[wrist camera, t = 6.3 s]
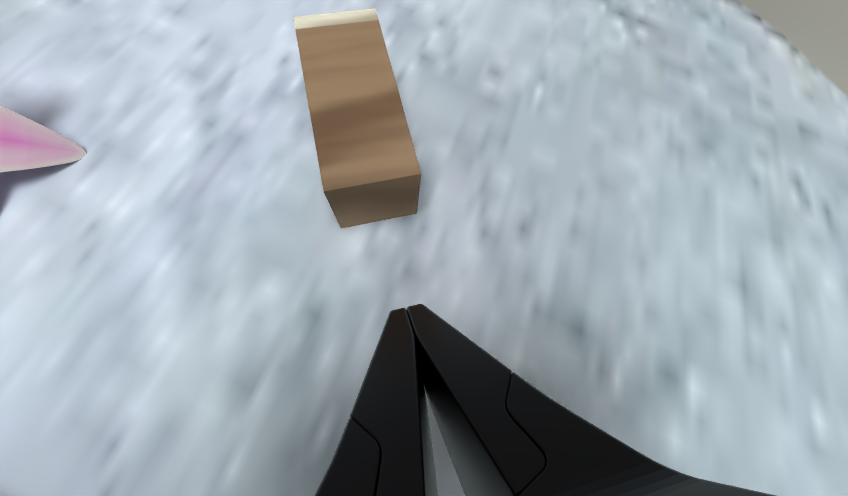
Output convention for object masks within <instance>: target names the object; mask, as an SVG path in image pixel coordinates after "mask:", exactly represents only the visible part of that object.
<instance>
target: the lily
mask: <svg viewBox="0 0 848 496" xmlns="http://www.w3.org/2000/svg"><path fill="white" fill-rule="evenodd" d="M86 154H87V153H86V152H85V150H84V149H83V148H82V147H80V146H79V145H77V144H76V143H74V142H73V141H71V140H69V139H68V138H66V137H64V136H62V135H60V134H58V133H56V132H55V131H53V130H51V129H49V128H47V127H45V126H43V125H41V124H39V123H37V122H34V121H32V120H30V119H28V118H26V117H24V116H22V115H20V114H18V113H16V112H14V111H11V110H9V109H7V108H5V107H3V106H0V172H8V171H16V170H25V169H33V168H40V167H48V166H54V165H59V164H65V163H70V162H74V161H77V160H81V159H82V158H83V157H84V156H85V155H86Z"/></svg>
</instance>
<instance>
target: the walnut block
mask: <svg viewBox="0 0 848 496" xmlns="http://www.w3.org/2000/svg"><path fill="white" fill-rule="evenodd" d="M293 18H294V24H295V30H296V36H297V41H298V47H299V53H300V58H301V64H302V70H303V76H304V81H305V87H306V93H307V99H308V104H309V110H310V116H311V122H312V127H313V133H314V139H315V144H316V150H317V156H318V162H319V167H320V173H321V179H322V185H323V190H324V193H325V195H326V197H327V200H328V202H329V204H330V206H331V208H332V210H333V212H334V215H335V217H336V219H337V221H338V223H339V225H340V227H341V228H346V227H351V226H356V225H361V224H366V223H371V222H376V221H381V220H386V219H391V218H396V217H401V216H406V215H411V214H416V213H417V205H418V196H419V188H420V179H421V171H420V168H419V164H418V161H417V157H416V153H415V150H414V146H413V143H412V139H411V135H410V132H409V128H408V125H407V121H406V117H405V114H404V110H403V107H402V103H401V99H400V96H399V92H398V89H397V85H396V81H395V78H394V74H393V71H392V67H391V63H390V60H389V56H388V53H387V49H386V45H385V42H384V38H383V35H382V31H381V27H380V24H379V20H378V17H377V13H376V9H375V8H374V9H365V10H355V11H346V12H336V13H327V14H318V15H308V16H299V17H293Z"/></svg>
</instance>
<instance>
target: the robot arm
mask: <svg viewBox="0 0 848 496" xmlns="http://www.w3.org/2000/svg"><path fill="white" fill-rule="evenodd" d="M424 388H425V389H424ZM425 391H426V394H427V397H428V400H429V403H430V405H431V408H432V410H433V413H434V416H435V418H436V421H437V423H438V426H439V428H440V431H441V434H442V436H443V439H444V441H445V444H446V446H447V449H448V452H449V454H450V457H451V459H452V462H453V464H454V467H455V470H456V472H457V475H458V477H459V480H460V483H461V485H462V488H463V490H464V493H465V495H466V496H775V495H771V494H766V493H762V492H757V491H753V490H748V489H743V488H739V487H734V486H730V485H725V484H721V483H716V482H712V481H707V480H703V479H698V478H695V477H692V476H689V475H686V474H683V473H680V472H678V471H675V470H673V469H670V468H668V467H666V466H664V465H662V464H659V463H657V462H655V461H653V460H652V459H650V458H648V457H646V456H644V455H643V454H641V453H639V452H638V451H636V450H634V449H633V448H631V447H629V446H628V445H626V444H624V443H623V442H621V441H619V440H618V439H616V438H614V437H613V436H611V435H609V434H608V433H606V432H604V431H603V430H601V429H599V428H598V427H596V426H594V425H593V424H591V423H589V422H588V421H586V420H584V419H583V418H581V417H579V416H578V415H576V414H574V413H573V412H571V411H569V410H568V409H566V408H565V407H563V406H561V405H560V404H558V403H557V402H555V401H554V400H552V399H550V398H549V397H547V396H546V395H544V394H543V393H542V392H540V391H539V390H537V389H536V388H535V387H533V386H532V385H530V384H529V383H527V382H526V381H525V380H523V379H522V378H521V377H519V376H518V375H517V374H515V373H512V371H511V370H510V369H508V368H507V367H506V366H504V365H503V364H502V363H500V362H499V361H498V360H496V359H495V358H494V357H492V356H491V355H490V354H488V353H487V352H486V351H484V350H483V349H482V348H480V347H479V346H478V345H476V344H475V343H474V342H472V341H471V340H470V339H468V338H467V337H466V336H464V335H463V334H462V333H460V332H459V331H458V330H456V329H455V328H454V327H452V326H451V325H450V324H448V323H447V322H446V321H444V320H443V319H442V318H440V317H439V316H438V315H436V314H435V313H434V312H432V311H431V310H430V309H428V308H427V307H426V306H424V305H423V304H418V305H413V306H409V307H408V308H407V310H406V309H405V308H401V309H397V310H393V311H391V312H390V313H389V316H388V319H387V321H386V324H385V326H384V329H383V332H382V334H381V337H380V339H379V342H378V345H377V347H376V350H375V352H374V355H373V358H372V360H371V363H370V365H369V368H368V371H367V373H366V376H365V378H364V381H363V384H362V386H361V389H360V391H359V394H358V397H357V399H356V402H355V404H354V407H353V410H352V412H351V415H350V419H349V420H348V422H347V425H346V427H345V430H344V433H343V435H342V438H341V440H340V443H339V445H338V447H337V450H336V452H335V454H334V457H333V459H332V462H331V464H330V466H329V468H328V470H327V472H326V474H325V476H324V478H323V480H322V482H321V484H320V486H319V488H318V490H317V493H316V494H315V496H438V493H437V485H436V476H435V468H434V460H433V451H432V443H431V435H430V427H429V418H428V410H427V402H426V395H425Z"/></svg>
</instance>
